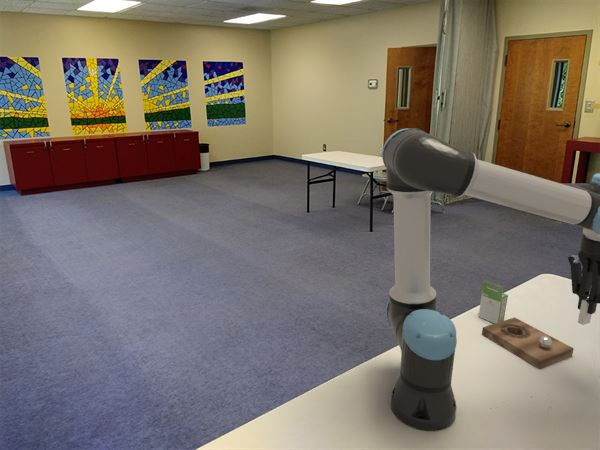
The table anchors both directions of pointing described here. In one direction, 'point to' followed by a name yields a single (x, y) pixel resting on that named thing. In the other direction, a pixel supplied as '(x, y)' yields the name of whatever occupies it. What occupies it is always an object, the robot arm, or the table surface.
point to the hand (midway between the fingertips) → (583, 322)
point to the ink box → (492, 303)
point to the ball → (545, 342)
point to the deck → (526, 342)
